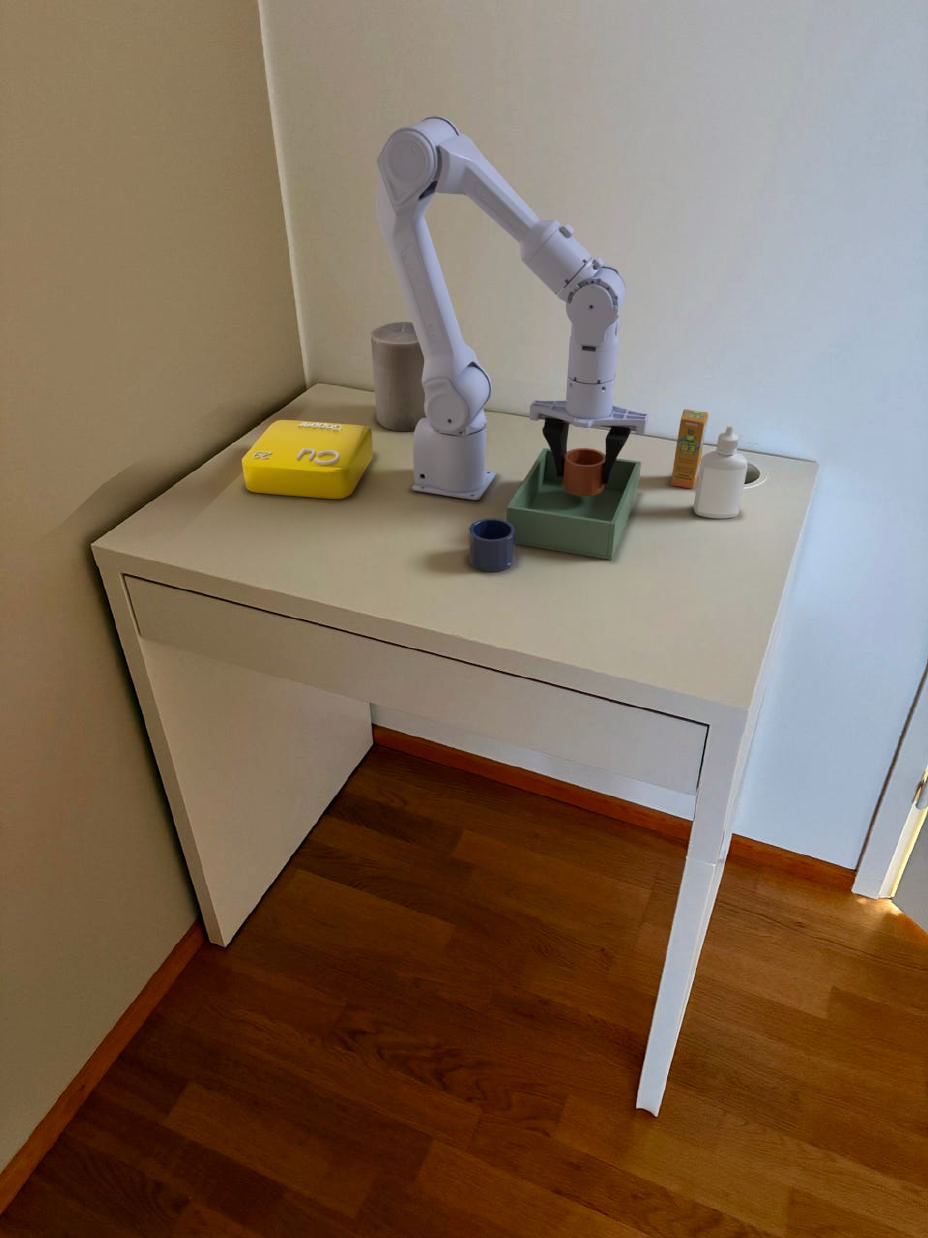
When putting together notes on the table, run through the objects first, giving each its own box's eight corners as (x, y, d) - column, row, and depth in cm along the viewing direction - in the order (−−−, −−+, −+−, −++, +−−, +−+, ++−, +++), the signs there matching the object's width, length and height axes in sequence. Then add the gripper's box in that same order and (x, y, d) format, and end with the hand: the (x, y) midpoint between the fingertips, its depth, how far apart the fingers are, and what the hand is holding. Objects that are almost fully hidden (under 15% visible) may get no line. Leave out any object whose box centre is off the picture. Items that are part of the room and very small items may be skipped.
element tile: (376, 452, 133) (374, 421, 131) (348, 501, 121) (345, 468, 119) (278, 445, 136) (274, 414, 133) (241, 492, 124) (235, 460, 121)
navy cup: (463, 567, 108) (462, 537, 106) (477, 545, 112) (477, 515, 110) (506, 575, 107) (507, 544, 104) (519, 552, 111) (520, 522, 108)
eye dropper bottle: (729, 525, 116) (746, 437, 109) (688, 513, 118) (701, 426, 111) (742, 511, 119) (759, 425, 111) (701, 499, 121) (715, 414, 114)
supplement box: (669, 486, 124) (678, 417, 118) (674, 475, 127) (684, 407, 121) (693, 490, 123) (704, 421, 117) (698, 479, 126) (709, 410, 120)
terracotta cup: (557, 492, 118) (559, 463, 115) (567, 474, 122) (569, 445, 120) (599, 499, 116) (601, 469, 114) (607, 480, 121) (610, 451, 118)
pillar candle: (448, 412, 145) (446, 317, 136) (420, 436, 138) (417, 337, 129) (393, 402, 148) (388, 309, 139) (364, 425, 141) (357, 328, 132)
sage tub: (505, 542, 113) (506, 507, 110) (542, 480, 126) (543, 447, 123) (611, 560, 109) (615, 524, 106) (637, 494, 122) (641, 461, 120)
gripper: (524, 380, 109) (520, 482, 117) (645, 394, 105) (633, 499, 113) (539, 360, 115) (535, 459, 123) (655, 373, 111) (643, 474, 119)
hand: (583, 476), depth 118 cm, fingers closed on terracotta cup, 5 cm apart
